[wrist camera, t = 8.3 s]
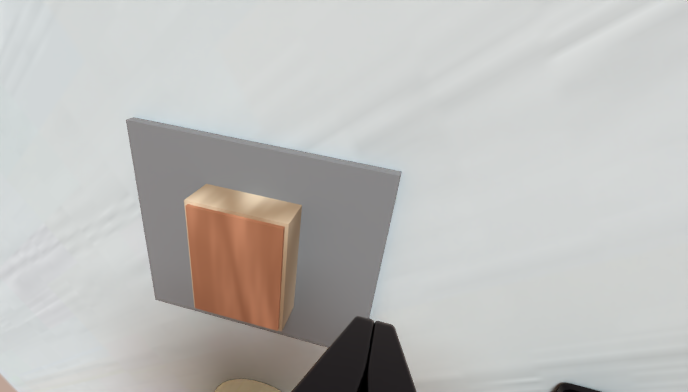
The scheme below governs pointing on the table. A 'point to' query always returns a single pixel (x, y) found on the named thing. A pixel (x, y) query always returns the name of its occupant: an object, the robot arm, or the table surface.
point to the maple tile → (243, 254)
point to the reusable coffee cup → (245, 386)
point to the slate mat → (277, 183)
